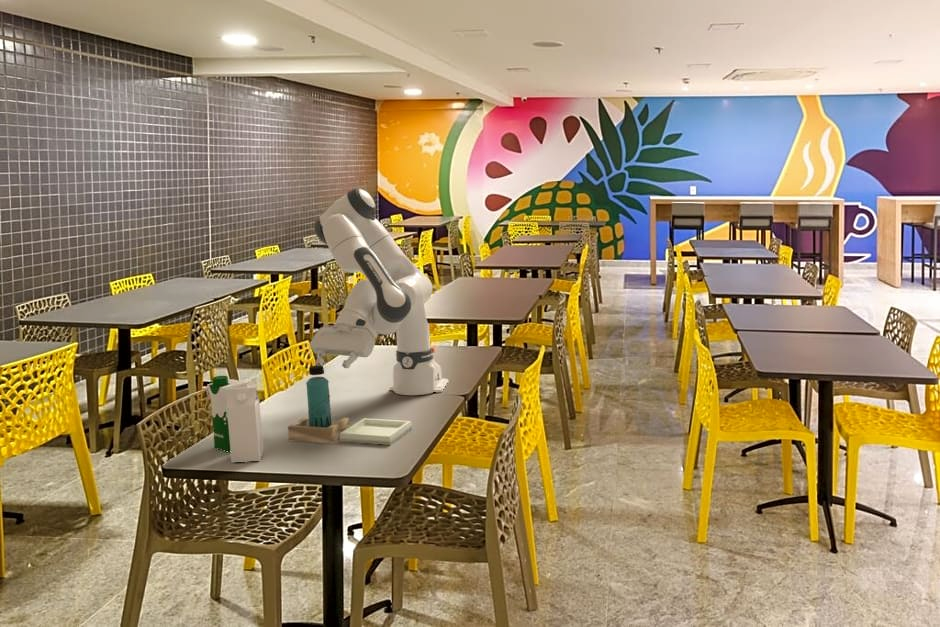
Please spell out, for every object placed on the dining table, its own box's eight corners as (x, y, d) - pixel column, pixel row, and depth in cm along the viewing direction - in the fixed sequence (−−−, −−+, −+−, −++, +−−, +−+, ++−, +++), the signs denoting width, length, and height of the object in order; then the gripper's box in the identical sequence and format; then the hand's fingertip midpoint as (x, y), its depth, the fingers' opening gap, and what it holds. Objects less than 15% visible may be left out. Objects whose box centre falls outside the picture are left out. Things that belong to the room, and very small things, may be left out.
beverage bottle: (313, 440, 243) (308, 369, 240) (306, 434, 249) (301, 365, 246) (335, 436, 246) (331, 366, 243) (328, 430, 252) (323, 362, 249)
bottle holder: (309, 428, 254) (308, 415, 254) (349, 431, 250) (348, 418, 249) (288, 440, 244) (287, 426, 243) (330, 443, 239) (329, 429, 239)
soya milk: (209, 448, 239) (203, 377, 236) (237, 440, 246) (232, 370, 243) (227, 454, 234) (221, 381, 230) (256, 445, 240) (250, 374, 237)
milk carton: (236, 455, 232) (230, 385, 229) (263, 453, 233) (258, 384, 230) (231, 464, 225) (225, 392, 222) (259, 462, 226) (253, 390, 223)
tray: (364, 426, 254) (363, 418, 254) (412, 429, 250) (411, 421, 249) (340, 441, 241) (339, 433, 240) (390, 445, 236) (389, 436, 235)
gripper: (316, 318, 262) (297, 357, 255) (373, 322, 252) (355, 362, 245) (326, 331, 266) (308, 369, 259) (382, 334, 257) (365, 374, 250)
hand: (331, 365), depth 252 cm, fingers open, 8 cm apart
